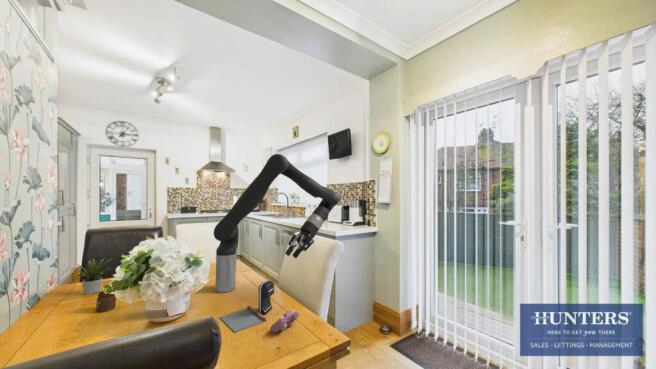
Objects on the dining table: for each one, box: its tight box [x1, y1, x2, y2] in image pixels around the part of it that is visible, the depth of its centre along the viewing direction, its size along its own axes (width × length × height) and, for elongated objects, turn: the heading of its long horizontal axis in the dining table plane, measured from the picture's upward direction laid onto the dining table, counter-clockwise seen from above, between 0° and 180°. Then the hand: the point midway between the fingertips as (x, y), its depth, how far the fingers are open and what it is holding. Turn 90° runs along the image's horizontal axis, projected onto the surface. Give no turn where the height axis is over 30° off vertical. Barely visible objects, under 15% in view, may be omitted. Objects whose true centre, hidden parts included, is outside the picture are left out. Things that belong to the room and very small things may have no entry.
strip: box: [246, 305, 267, 323], centre depth 98 cm, size 14×1×1 cm, turn 43°
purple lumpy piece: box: [269, 309, 300, 333], centre depth 88 cm, size 10×5×7 cm, turn 148°
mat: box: [219, 308, 264, 333], centre depth 94 cm, size 14×11×1 cm
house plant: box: [75, 258, 112, 295], centre depth 120 cm, size 14×14×16 cm
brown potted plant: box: [95, 279, 117, 313], centre depth 102 cm, size 6×6×12 cm
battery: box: [257, 280, 275, 315], centre depth 101 cm, size 7×4×11 cm, turn 165°
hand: (290, 255), depth 109 cm, fingers open, 5 cm apart
